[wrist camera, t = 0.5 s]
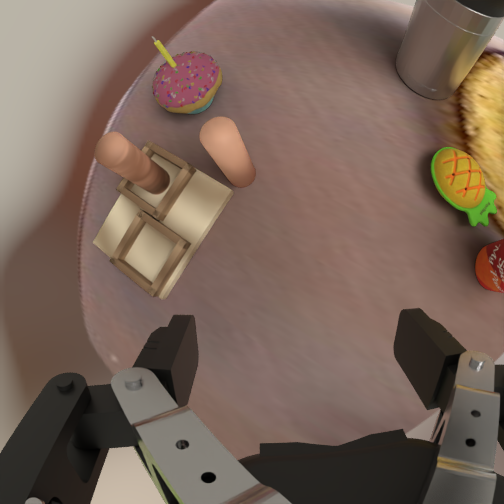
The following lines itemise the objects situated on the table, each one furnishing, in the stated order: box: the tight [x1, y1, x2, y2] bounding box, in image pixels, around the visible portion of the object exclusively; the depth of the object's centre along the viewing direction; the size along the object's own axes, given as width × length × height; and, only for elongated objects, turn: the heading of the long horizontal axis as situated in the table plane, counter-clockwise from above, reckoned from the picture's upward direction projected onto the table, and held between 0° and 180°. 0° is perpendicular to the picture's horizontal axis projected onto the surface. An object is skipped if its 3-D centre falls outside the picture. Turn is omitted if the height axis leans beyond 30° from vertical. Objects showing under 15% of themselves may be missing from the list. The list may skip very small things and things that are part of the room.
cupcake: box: [152, 36, 222, 114], centre depth 32 cm, size 9×8×12 cm
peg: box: [200, 117, 256, 188], centre depth 31 cm, size 3×3×11 cm
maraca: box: [431, 147, 497, 227], centre depth 30 cm, size 7×10×5 cm
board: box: [93, 132, 234, 299], centre depth 31 cm, size 14×12×12 cm
